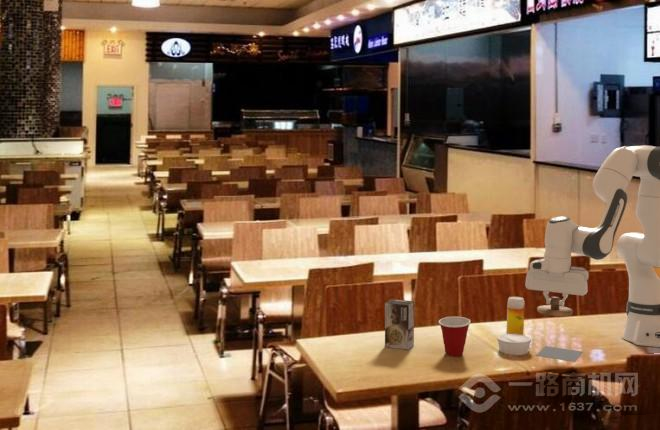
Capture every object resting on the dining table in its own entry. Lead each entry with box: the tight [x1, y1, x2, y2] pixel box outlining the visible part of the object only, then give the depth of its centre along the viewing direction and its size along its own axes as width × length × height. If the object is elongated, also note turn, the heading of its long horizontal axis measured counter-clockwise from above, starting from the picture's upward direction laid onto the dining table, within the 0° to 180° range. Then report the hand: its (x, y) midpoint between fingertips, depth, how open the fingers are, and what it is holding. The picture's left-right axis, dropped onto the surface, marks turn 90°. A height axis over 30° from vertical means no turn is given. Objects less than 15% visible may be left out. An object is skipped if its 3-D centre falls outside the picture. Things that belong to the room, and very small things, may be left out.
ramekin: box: [497, 333, 532, 356], centre depth 265 cm, size 11×11×5 cm
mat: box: [535, 345, 584, 363], centre depth 262 cm, size 13×13×1 cm
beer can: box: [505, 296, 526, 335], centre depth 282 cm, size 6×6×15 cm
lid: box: [536, 296, 574, 317], centre depth 260 cm, size 12×12×5 cm
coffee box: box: [384, 298, 415, 350], centre depth 270 cm, size 9×6×16 cm
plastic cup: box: [438, 316, 471, 357], centre depth 262 cm, size 11×11×12 cm
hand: (555, 305), depth 260 cm, fingers closed on lid, 3 cm apart
